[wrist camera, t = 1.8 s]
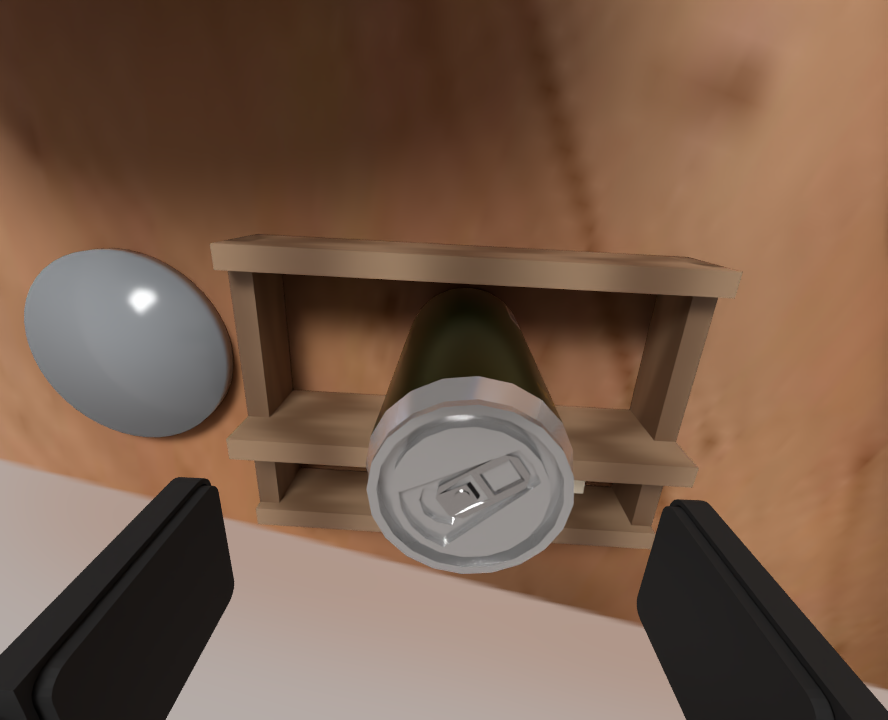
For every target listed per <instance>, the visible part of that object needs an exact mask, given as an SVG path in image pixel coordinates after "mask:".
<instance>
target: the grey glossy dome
mask: <svg viewBox="0 0 888 720" xmlns="http://www.w3.org/2000/svg"><path fill="white" fill-rule="evenodd" d="M24 323H25V331H26V336H27V340H28V344H29V347H30V349H31V352H32V354H33V357H34V359H35V361H36V363H37V365H38V366H39V368H40V370H41V372H42V373H43V375H44V376H45V377H46V379H47V380H48V382H49V383H50V384H51V385H52V386H53V388H54V389H55V390H56V391H57V392H58V393H59V394H60V395H61V396H62V397H63V398H64V399H65V400H66V401H67V402H68V403H69V404H71V405H72V406H73V407H74V408H75V409H77V410H78V411H80V412H81V413H82V414H84V415H85V416H87V417H88V418H90V419H92V420H94V421H96V422H97V423H99V424H101V425H104V426H106V427H108V428H110V429H113V430H116V431H119V432H122V433H126V434H130V435H135V436H143V437H164V436H171V435H175V434H179V433H182V432H185V431H187V430H190V429H192V428H193V427H195V426H197V425H198V424H200V423H201V422H202V421H203V420H204V419H206V418H207V417H208V416H209V415H210V414H211V413H213V412H214V411H215V410H216V409H217V407H218V406H219V405H220V404H221V403H222V401H223V400H224V398H225V396H226V395H227V392H228V390H229V387H230V385H231V380H232V376H233V352H232V347H231V342H230V339H229V336H228V333H227V330H226V327H225V325H224V323H223V321H222V319H221V317H220V315H219V314H218V312H217V311H216V309H215V308H214V306H213V304H212V303H211V302H210V301H209V299H208V298H207V297H206V296H205V294H204V293H203V292H202V291H201V290H200V289H199V288H198V287H197V286H196V285H195V284H194V283H193V282H192V281H190V280H189V279H188V278H187V277H186V276H184V275H183V274H182V273H180V272H179V271H177V270H176V269H174V268H173V267H171V266H170V265H168V264H166V263H164V262H162V261H160V260H158V259H156V258H154V257H151V256H148V255H146V254H143V253H139V252H135V251H131V250H126V249H118V248H101V249H94V250H87V251H81V252H75V253H72V254H69V255H66V256H63V257H61V258H59V259H57V260H55V261H53V262H52V263H51V264H49V265H48V266H47V267H46V268H44V269H43V270H42V271H41V273H40V274H39V275H38V276H37V277H36V279H35V280H34V282H33V284H32V286H31V287H30V290H29V293H28V295H27V298H26V304H25V310H24Z"/></svg>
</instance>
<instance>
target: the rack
mask: <svg viewBox="0 0 888 720" xmlns="http://www.w3.org/2000/svg"><path fill="white" fill-rule="evenodd" d="M210 248H211V255H212V261H213V268H214V270H225V271H228V275H229V283H230V290H231V297H232V304H233V311H234V318H235V325H236V332H237V340H238V347H239V354H240V361H241V368H242V375H243V382H244V389H245V397H246V404H247V411H248V417H247V418H246V419H245V420H244V421H243V422H242V423H241V424H240V425H239V426H238V427H237V428H236V430H235V431H234V432H233V433H232V434H231V435H230V436H229V437H228V438H227V439H226V441H227V447H228V453H229V459H238V460H254V461H255V468H256V475H257V482H258V489H259V496H260V503H259V504H258V506H257V507H256V513H257V520H258V524H265V525H281V526H296V527H312V528H328V529H343V530H359V531H374V532H382V531H381V530H380V528H379V526H378V525H377V523H376V521H375V520H374V518H373V517H372V515H371V510H370V505H369V500H368V495H367V490H366V489H367V484H368V479H369V478H368V473H367V472H362V471H346V470H330V469H314V468H300V463H303V464H319V465H335V466H352V467H366V459H367V453H368V448H369V442H370V437H371V434H372V431H373V429H374V426H375V423H376V420H377V418H378V415H379V412H380V410H381V407H382V404H383V402H384V399H385V396H386V395H370V394H353V393H336V392H319V391H302V390H293V385H292V374H291V363H290V353H289V342H288V331H287V321H286V310H285V299H284V288H283V278H282V274H298V275H316V276H335V277H353V278H371V279H389V280H408V281H426V282H444V283H462V284H481V285H499V286H517V287H535V288H554V289H572V290H590V291H608V292H627V293H645V294H657V298H656V302H655V306H654V310H653V314H652V319H651V323H650V327H649V331H648V335H647V340H646V344H645V348H644V352H643V356H642V361H641V365H640V369H639V373H638V377H637V382H636V386H635V390H634V394H633V398H632V403H631V407H630V410H623V409H607V408H590V407H573V406H556V405H555V407H556V410H557V412H558V414H559V416H560V418H561V421H562V423H563V425H564V428H565V431H566V433H567V436H568V438H569V441H570V444H571V446H572V449H573V476H574V480H578V481H594V482H610V483H612V487H604V486H588V485H585V486H584V491H583V494H582V493H574V505H573V507H572V509H571V512H570V514H569V517H568V519H567V521H566V524H565V526H564V529H563V530H562V531H561V532H560V533H559V534H558V535H557V537H556V538H555V539H554V540H553V541H552V542H551V543H561V544H576V545H592V546H608V547H623V548H639V549H651V547H652V544H653V540H654V537H655V532H654V531H653V529H652V527H651V525H652V522H653V518H654V515H655V512H656V508H657V505H658V501H659V498H660V495H661V491H662V488H663V486H675V487H691V488H692V487H693V484H694V481H695V478H696V475H697V472H698V469H699V468H698V467H697V466H696V464H695V463H694V462H693V461H692V460H691V459H690V458H689V456H688V455H687V454H686V453H685V452H684V451H683V450H682V448H681V447H680V446H679V445H678V444H677V443H676V440H677V436H678V433H679V430H680V426H681V423H682V419H683V416H684V413H685V409H686V406H687V402H688V399H689V395H690V392H691V389H692V385H693V382H694V378H695V375H696V372H697V368H698V365H699V361H700V358H701V354H702V351H703V348H704V344H705V341H706V337H707V334H708V330H709V327H710V324H711V320H712V317H713V313H714V310H715V307H716V303H717V300H718V298H735V296H736V293H737V289H738V286H739V283H740V280H741V276H742V273H743V272H741V271H738V270H734V269H730V268H726V267H723V266H719V265H715V264H712V263H708V262H704V261H701V260H697V259H693V258H689V257H675V256H657V255H638V254H619V253H600V252H582V251H563V250H544V249H525V248H507V247H488V246H469V245H451V244H432V243H413V242H394V241H376V240H357V239H338V238H319V237H301V236H282V235H263V234H256V235H250V236H245V237H240V238H235V239H229V240H224V241H219V242H214V243H210Z"/></svg>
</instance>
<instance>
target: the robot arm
mask: <svg viewBox="0 0 888 720" xmlns="http://www.w3.org/2000/svg"><path fill="white" fill-rule="evenodd" d="M233 589H234V578H233V572H232V566H231V560H230V555H229V549H228V543H227V538H226V532H225V526H224V520H223V515H222V509H221V503H220V498H219V492H218V489H217V488H216V487H215V486H211V483H210V481H209V480H208V479H205V478H185V477H178V478H175V479H173V480H172V481H171V482H170V483H169V484H168V485H167V486H166V487H165V488H164V489H163V490H162V491H161V492H160V493H159V494H158V495H157V496H156V497H155V498H154V499H153V500H152V501H151V502H150V503H149V504H148V505H147V506H146V507H145V508H144V509H143V510H142V511H141V512H140V513H139V514H138V515H137V516H136V517H135V518H134V520H132V521H131V522H130V523H129V524H128V526H127V527H126V528H125V529H124V530H123V531H122V532H121V533H120V534H119V535H118V536H117V537H116V538H115V539H114V540H113V541H112V542H111V543H110V544H109V545H108V546H107V547H106V548H105V549H104V550H103V551H102V552H101V553H100V554H99V555H98V556H97V557H96V558H95V559H94V560H93V561H92V562H91V563H90V564H89V565H88V566H87V567H86V568H85V569H84V570H83V571H82V572H81V573H80V574H79V576H77V578H75V579H74V580H73V581H72V583H70V584H69V585H68V587H67V588H66V589H65V590H64V591H63V592H62V593H61V594H60V595H59V596H58V597H57V598H56V599H55V600H54V601H53V602H52V603H51V604H50V605H49V606H48V607H47V608H46V609H45V610H44V611H43V612H42V613H41V614H40V615H39V616H38V617H37V618H36V619H35V620H34V621H33V622H32V623H31V624H30V625H29V626H28V627H27V628H26V629H25V630H24V631H23V632H22V633H21V634H20V636H19V637H17V638H16V639H15V640H14V641H13V642H12V644H11V645H9V647H8V648H7V649H6V650H5V651H4V652H3V653H2V654H1V655H0V720H166V718H167V716H168V714H169V712H170V710H171V709H172V707H173V705H174V703H175V701H176V699H177V698H178V696H179V694H180V692H181V690H182V688H183V686H184V685H185V683H186V681H187V679H188V677H189V675H190V674H191V672H192V670H193V668H194V666H195V664H196V662H197V661H198V659H199V657H200V655H201V653H202V651H203V650H204V648H205V646H206V644H207V642H208V640H209V639H210V637H211V635H212V633H213V631H214V629H215V627H216V626H217V624H218V622H219V620H220V618H221V616H222V614H223V613H224V611H225V609H226V607H227V605H228V604H229V602H230V599H231V597H232V594H233ZM637 610H638V615H639V617H640V620H641V622H642V624H643V626H644V629H645V631H646V633H647V635H648V637H649V639H650V642H651V644H652V646H653V648H654V650H655V653H656V655H657V657H658V659H659V661H660V663H661V666H662V668H663V670H664V672H665V674H666V676H667V679H668V681H669V683H670V685H671V687H672V690H673V692H674V694H675V696H676V698H677V700H678V703H679V704H680V707H681V709H682V711H683V713H684V716H685V718H686V720H888V711H887V710H886V709H885V708H884V706H883V705H882V704H881V703H880V702H879V701H878V699H877V698H876V697H875V696H874V695H873V694H872V692H871V691H870V690H869V689H868V688H867V687H866V685H865V684H864V683H863V682H862V681H861V680H860V678H859V677H858V676H857V675H856V674H855V673H854V671H853V670H852V669H851V668H850V667H849V666H848V665H847V663H846V662H845V661H844V660H843V659H842V658H841V656H840V655H839V654H838V653H837V652H836V651H835V649H834V648H833V647H832V646H831V645H830V644H829V642H828V641H827V640H826V639H825V638H824V637H823V636H822V634H821V633H820V632H819V631H818V630H817V629H816V627H815V626H814V625H813V624H812V623H811V622H810V620H809V619H808V618H807V617H806V616H805V615H804V613H803V612H802V611H801V610H800V609H799V608H798V606H797V605H796V604H795V603H794V602H793V601H792V600H791V598H790V597H789V596H788V595H787V594H786V593H785V591H784V590H783V589H782V588H781V587H780V586H779V584H778V583H777V582H776V581H775V580H774V579H773V577H772V576H771V575H770V574H769V573H768V572H767V570H766V569H765V568H764V567H763V566H762V565H761V564H760V562H759V561H758V560H757V559H756V558H755V557H754V555H753V554H752V553H751V552H750V551H749V550H748V548H747V547H746V546H745V545H744V544H743V543H742V541H741V540H740V539H739V538H738V537H737V536H736V535H735V533H734V532H733V531H732V530H731V529H730V528H729V526H728V525H727V524H726V523H725V522H724V521H723V519H722V518H721V517H720V516H719V515H718V514H717V512H716V511H715V510H714V509H713V508H712V507H711V506H710V505H709V504H708V503H707V502H705V501H700V500H678V499H677V500H674V501H673V502H672V503H671V504H670V506H667V507H665V508H664V509H663V511H662V514H661V518H660V521H659V525H658V528H657V532H656V535H655V538H654V542H653V545H652V549H651V552H650V556H649V559H648V562H647V566H646V569H645V573H644V576H643V580H642V583H641V587H640V590H639V593H638V597H637Z"/></svg>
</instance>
